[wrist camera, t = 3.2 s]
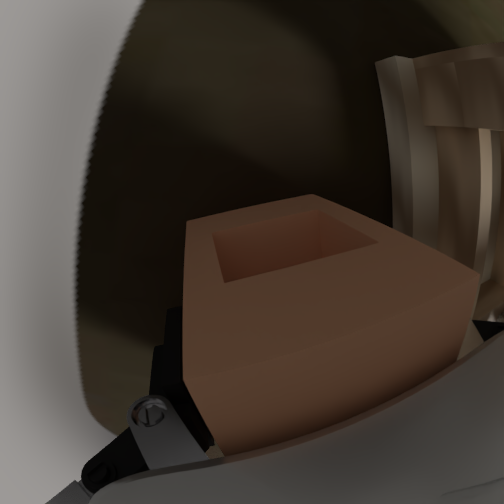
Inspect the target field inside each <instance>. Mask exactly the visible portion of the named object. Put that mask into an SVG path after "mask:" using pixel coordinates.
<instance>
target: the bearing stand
mask: <svg viewBox="0 0 504 504" xmlns="http://www.w3.org/2000/svg"><path fill="white" fill-rule="evenodd" d="M375 66H376V71H377V76H378V81H379V86H380V91H381V97H382V103H383V109H384V115H385V122H386V130H387V138H388V147H389V157H390V169H391V185H392V209H393V229H395V230H397V231H399V232H401V233H403V234H405V235H407V236H409V237H411V238H413V239H415V240H417V241H419V242H421V243H423V244H425V245H427V246H429V247H431V248H433V249H435V250H437V251H439V252H441V253H443V254H445V255H446V256H448V257H450V258H452V259H454V260H456V261H458V262H459V263H461V264H463V265H465V266H467V267H468V268H470V269H472V270H474V271H476V272H477V273H479V274H480V278H479V283H478V287H477V292H476V296H475V301H474V305H473V309H472V313H471V316H470V318H471V320H482V321H494V322H496V321H497V318H498V316H499V314H500V313H502V312H504V42H499V43H490V44H482V45H475V46H469V47H463V48H458V49H452V50H447V51H443V52H438V53H433V54H429V55H425V56H421V57H417V58H413V59H411V58H406V57H400V56H392V57H389V58H386V59H383V60H380V61H377V62H375Z"/></svg>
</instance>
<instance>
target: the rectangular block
mask: <svg viewBox="0 0 504 504" xmlns="http://www.w3.org/2000/svg"><path fill="white" fill-rule="evenodd" d="M479 278H480V274H479V273H477V272H476V271H474V270H472V269H470V268H468V267H467V266H465V265H463V264H461V263H459V262H458V261H456V260H454V259H452V258H450V257H448V256H446V255H445V254H443V253H441V252H439V251H437V250H435V249H433V248H431V247H429V246H427V245H425V244H423V243H421V242H419V241H417V240H415V239H413V238H411V237H409V236H407V235H405V234H403V233H401V232H399V231H397V230H395V229H393V228H390V227H388V226H386V225H384V224H382V223H380V222H377V221H375V220H373V219H371V218H369V217H366V216H364V215H362V214H360V213H357V212H355V211H353V210H350V209H348V208H346V207H343V206H341V205H339V204H336V203H334V202H332V201H329V200H327V199H324V198H322V197H319V196H317V195H314V194H309V195H304V196H298V197H293V198H288V199H283V200H278V201H274V202H269V203H264V204H259V205H255V206H250V207H245V208H241V209H236V210H232V211H227V212H223V213H219V214H214V215H210V216H206V217H201V218H197V219H193V220H189V221H187V223H186V239H185V257H184V282H183V381H184V383H185V385H186V387H187V389H188V391H189V393H190V395H191V397H192V399H193V401H194V402H195V404H196V406H197V408H198V410H199V412H200V414H201V416H202V418H203V419H204V421H205V423H206V425H207V427H208V428H209V430H210V432H211V434H212V436H213V437H214V439H215V441H216V442H217V444H218V446H219V448H220V449H221V451H222V453H223V454H224V456H230V455H235V454H239V453H243V452H248V451H252V450H256V449H260V448H264V447H268V446H271V445H275V444H279V443H282V442H285V441H289V440H292V439H295V438H298V437H301V436H304V435H307V434H310V433H313V432H316V431H319V430H321V429H324V428H327V427H330V426H332V425H335V424H337V423H340V422H342V421H345V420H347V419H350V418H352V417H354V416H357V415H359V414H361V413H364V412H366V411H368V410H370V409H372V408H375V407H377V406H379V405H381V404H383V403H385V402H387V401H389V400H391V399H393V398H395V397H397V396H399V395H401V394H403V393H404V392H406V391H408V390H410V389H412V388H414V387H415V386H417V385H419V384H421V383H423V382H424V381H426V380H428V379H429V378H431V377H433V376H434V375H436V374H438V373H439V372H441V371H442V370H444V369H446V368H447V367H449V366H450V365H452V364H453V363H455V362H456V361H457V358H458V355H459V352H460V349H461V346H462V343H463V340H464V337H465V334H466V330H467V327H468V324H469V320H470V316H471V313H472V309H473V305H474V301H475V296H476V292H477V287H478V283H479Z"/></svg>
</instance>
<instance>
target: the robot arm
mask: <svg viewBox="0 0 504 504" xmlns="http://www.w3.org/2000/svg"><path fill="white" fill-rule="evenodd" d="M127 421H128V424H129V426H130V427H128V428H127V429H126V430H125V431H124V432H123V433H121V434H120V435H119V436H118V437H117V438H115V439H114V440H113V441H112V442H111V443H110V444H108V445H107V446H106V447H105V448H104V449H102V450H101V451H100V452H99V453H98V454H96V455H95V456H94V457H93V458H91V459H90V460H89V461H88V462H87V463H86V464H85V465H84V467H83V470H82V474H81V480H80V481H79V482H77V481H76V480H75V481H73V482H72V483H71V484H69V485H68V486H67V487H66V488H65V489H63V490H62V491H61V492H59V493H58V494H57V495H56V496H54V497H53V498H52V499H51V500H49V501H48V502H47V503H46V504H504V322H494V321H482V320H471V318H470V320H469V324H468V327H467V330H466V334H465V337H464V340H463V343H462V346H461V349H460V352H459V355H458V358H457V361H456V362H455V363H453V364H452V365H450V366H449V367H447V368H446V369H444V370H442V371H441V372H439V373H438V374H436V375H434V376H433V377H431V378H429V379H428V380H426V381H424V382H423V383H421V384H419V385H417V386H415V387H414V388H412V389H410V390H408V391H406V392H404V393H403V394H401V395H399V396H397V397H395V398H393V399H391V400H389V401H387V402H385V403H383V404H381V405H379V406H377V407H375V408H372V409H370V410H368V411H366V412H364V413H361V414H359V415H357V416H354V417H352V418H350V419H347V420H345V421H342V422H340V423H337V424H335V425H332V426H330V427H327V428H324V429H321V430H319V431H316V432H313V433H310V434H307V435H304V436H301V437H298V438H295V439H292V440H289V441H285V442H282V443H279V444H275V445H271V446H268V447H264V448H260V449H256V450H252V451H248V452H243V453H239V454H235V455H230V456H225V457H221V458H215V459H209V458H208V457H207V455H206V454H205V452H206V451H207V450H208V449H209V446H214V445H215V444H214V438H213V436H212V434H211V432H210V430H209V428H208V427H207V425H206V423H205V421H204V419H203V418H202V416H201V414H200V412H199V410H198V408H197V406H196V404H195V402H194V401H193V399H192V397H191V395H190V393H189V391H188V389H187V387H186V385H185V383H184V381H183V308H182V306H180V307H175V308H171V309H167V315H166V325H165V336H164V345H160V346H155V347H154V352H153V360H152V369H151V379H150V390H149V395H147V396H144V397H141V398H140V399H138V400H136V401H135V402H134V403H133V404H132V405H131V406H130V408H129V410H128V412H127Z"/></svg>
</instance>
